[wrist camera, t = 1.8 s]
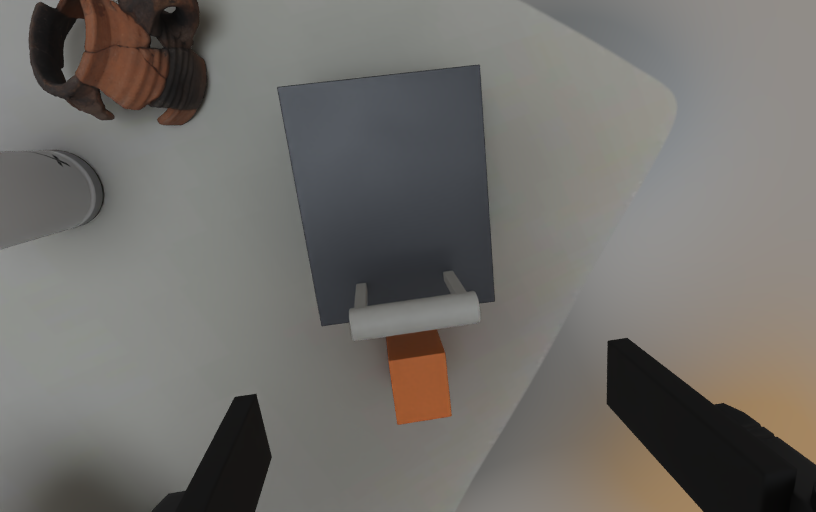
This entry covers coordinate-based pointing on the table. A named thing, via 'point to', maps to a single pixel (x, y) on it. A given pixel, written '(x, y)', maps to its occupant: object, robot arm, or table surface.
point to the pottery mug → (122, 56)
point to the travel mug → (45, 194)
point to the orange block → (418, 376)
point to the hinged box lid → (393, 198)
